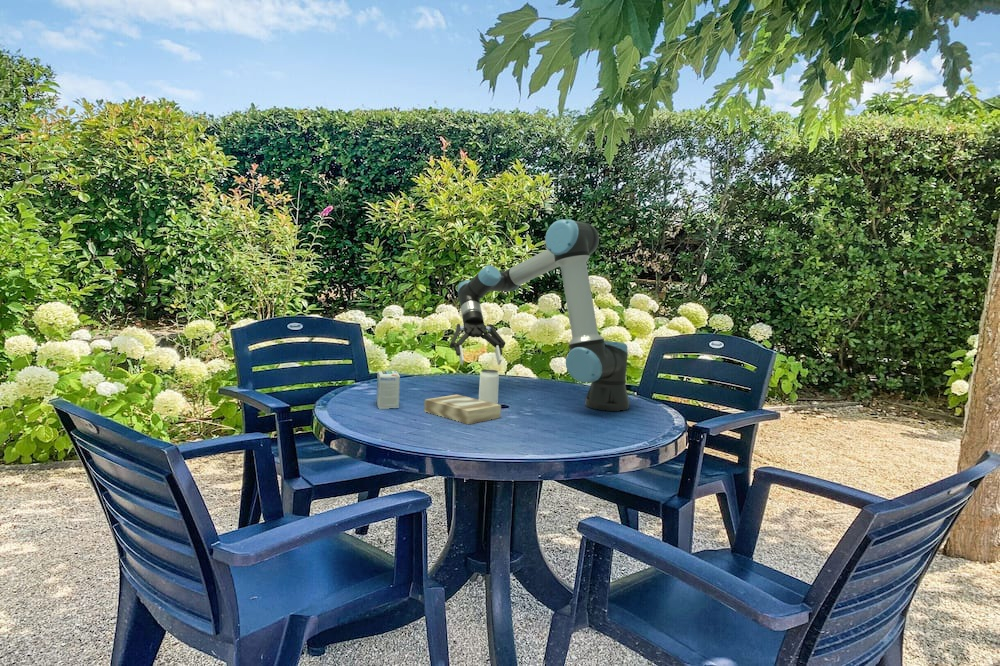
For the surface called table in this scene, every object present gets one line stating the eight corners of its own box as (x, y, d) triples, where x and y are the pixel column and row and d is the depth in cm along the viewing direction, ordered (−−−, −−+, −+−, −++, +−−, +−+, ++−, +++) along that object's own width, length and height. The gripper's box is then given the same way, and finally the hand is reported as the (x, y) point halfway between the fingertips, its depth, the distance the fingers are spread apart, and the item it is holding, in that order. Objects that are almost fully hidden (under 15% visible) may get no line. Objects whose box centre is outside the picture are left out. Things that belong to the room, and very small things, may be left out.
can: (476, 403, 207) (477, 369, 206) (494, 403, 209) (496, 369, 208) (481, 408, 201) (482, 372, 200) (499, 407, 203) (501, 372, 202)
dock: (500, 417, 189) (501, 404, 189) (468, 424, 179) (468, 410, 179) (456, 406, 203) (456, 393, 202) (424, 412, 192) (424, 398, 192)
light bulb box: (376, 402, 204) (376, 370, 203) (396, 402, 205) (397, 370, 204) (378, 409, 193) (379, 376, 192) (399, 409, 195) (400, 376, 194)
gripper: (501, 323, 232) (512, 368, 219) (437, 322, 225) (444, 368, 212) (506, 310, 226) (517, 355, 214) (440, 308, 219) (448, 355, 206)
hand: (481, 362), depth 213 cm, fingers open, 13 cm apart
